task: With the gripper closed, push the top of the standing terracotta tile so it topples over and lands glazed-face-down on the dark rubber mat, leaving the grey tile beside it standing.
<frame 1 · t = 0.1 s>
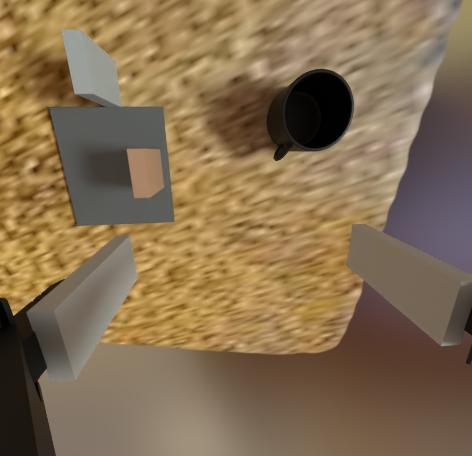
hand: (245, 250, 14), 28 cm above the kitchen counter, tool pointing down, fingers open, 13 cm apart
mat: (118, 169, 38), on the kitchen counter
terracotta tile: (155, 168, 38), point 1 cm above the kitchen counter, touching mat
grey tile: (111, 85, 34), on the kitchen counter
mug: (289, 127, 38), on the kitchen counter
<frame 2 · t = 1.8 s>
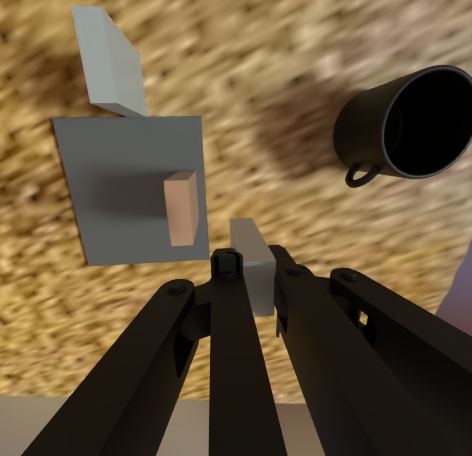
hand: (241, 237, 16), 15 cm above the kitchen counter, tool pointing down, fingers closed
mat: (141, 196, 29), on the kitchen counter
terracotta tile: (189, 195, 29), point 1 cm above the kitchen counter, touching mat
grey tile: (134, 87, 26), on the kitchen counter
mug: (360, 141, 30), on the kitchen counter
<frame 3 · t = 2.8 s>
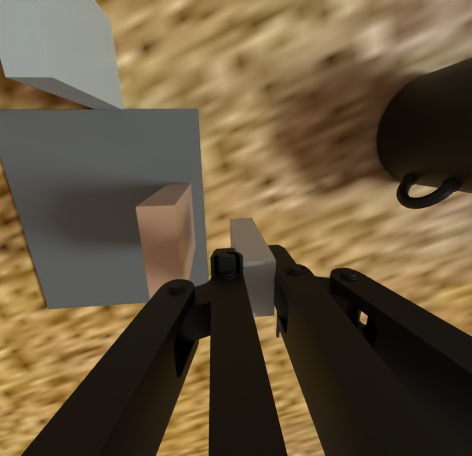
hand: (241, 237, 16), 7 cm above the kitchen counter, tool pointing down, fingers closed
mat: (117, 217, 22), on the kitchen counter
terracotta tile: (182, 216, 22), point 1 cm above the kitchen counter, touching mat
grey tile: (104, 67, 18), on the kitchen counter
mug: (411, 144, 22), on the kitchen counter
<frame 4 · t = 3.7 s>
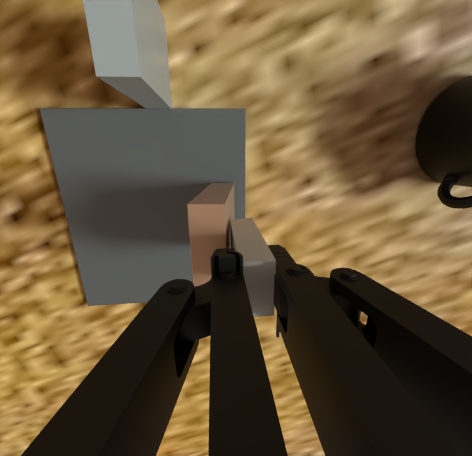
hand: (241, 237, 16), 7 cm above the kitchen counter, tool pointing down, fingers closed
mat: (160, 215, 22), on the kitchen counter
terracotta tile: (223, 215, 22), point 1 cm above the kitchen counter, tilted 8°, touching mat
grey tile: (156, 67, 18), on the kitchen counter
mug: (448, 145, 23), on the kitchen counter
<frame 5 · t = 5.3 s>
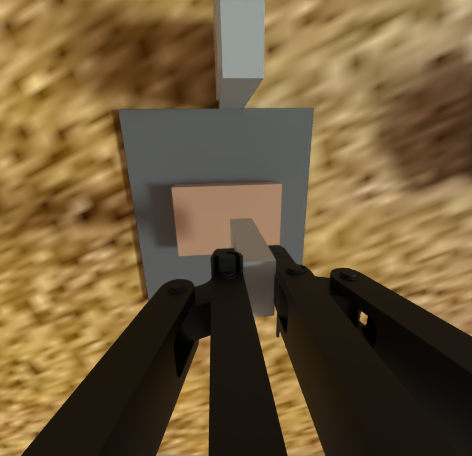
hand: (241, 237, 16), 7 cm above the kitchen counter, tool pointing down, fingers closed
mat: (223, 213, 23), on the kitchen counter
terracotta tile: (277, 215, 21), point 2 cm above the kitchen counter, tilted 90°, touching mat
grey tile: (229, 68, 19), on the kitchen counter
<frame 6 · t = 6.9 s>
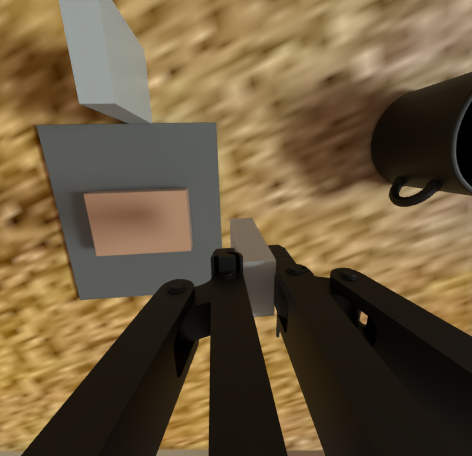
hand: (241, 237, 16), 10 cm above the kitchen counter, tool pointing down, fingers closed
mat: (144, 217, 25), on the kitchen counter
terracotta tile: (189, 219, 23), point 2 cm above the kitchen counter, tilted 90°, touching mat
grey tile: (137, 88, 21), on the kitchen counter
mug: (401, 151, 25), on the kitchen counter
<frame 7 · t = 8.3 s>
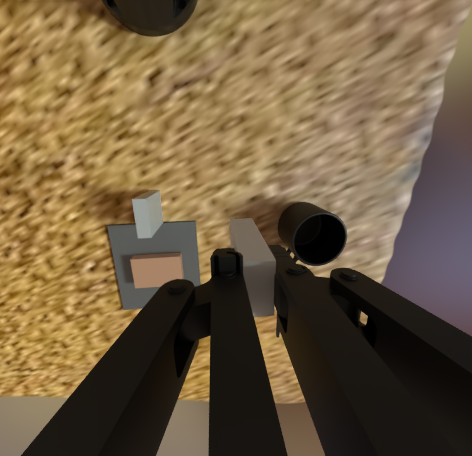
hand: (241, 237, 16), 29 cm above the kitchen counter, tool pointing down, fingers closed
mat: (158, 266, 47), on the kitchen counter
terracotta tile: (182, 268, 45), point 2 cm above the kitchen counter, tilted 90°, touching mat
grey tile: (156, 206, 43), on the kitchen counter
mug: (296, 229, 47), on the kitchen counter
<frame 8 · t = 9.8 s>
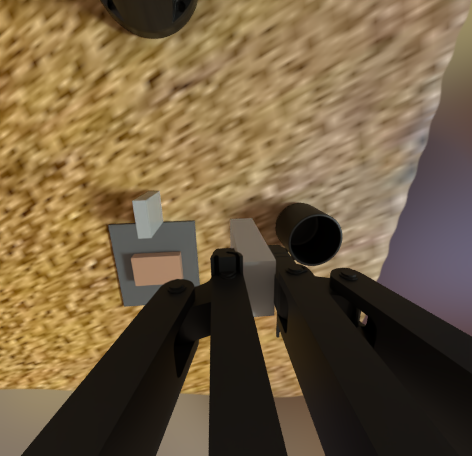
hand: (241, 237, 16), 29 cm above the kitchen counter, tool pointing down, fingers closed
mat: (158, 264, 48), on the kitchen counter
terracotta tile: (181, 267, 47), point 2 cm above the kitchen counter, tilted 90°, touching mat
grey tile: (156, 206, 44), on the kitchen counter
mug: (293, 229, 48), on the kitchen counter
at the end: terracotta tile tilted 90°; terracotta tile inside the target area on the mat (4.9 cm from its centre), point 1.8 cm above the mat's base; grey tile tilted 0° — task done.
